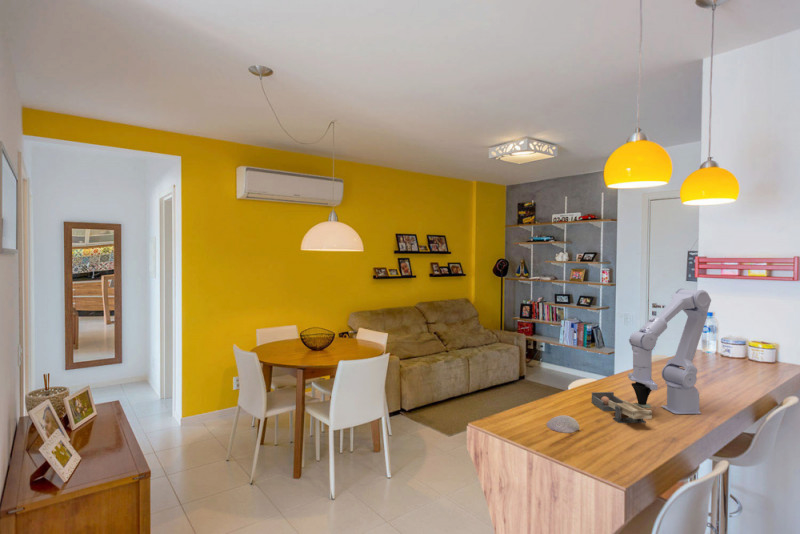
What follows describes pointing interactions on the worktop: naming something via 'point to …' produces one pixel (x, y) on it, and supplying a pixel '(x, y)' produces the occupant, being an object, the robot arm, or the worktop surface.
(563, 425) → the seashell
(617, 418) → the pivot stand
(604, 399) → the ball
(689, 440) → the worktop surface
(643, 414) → the lever
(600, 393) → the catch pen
